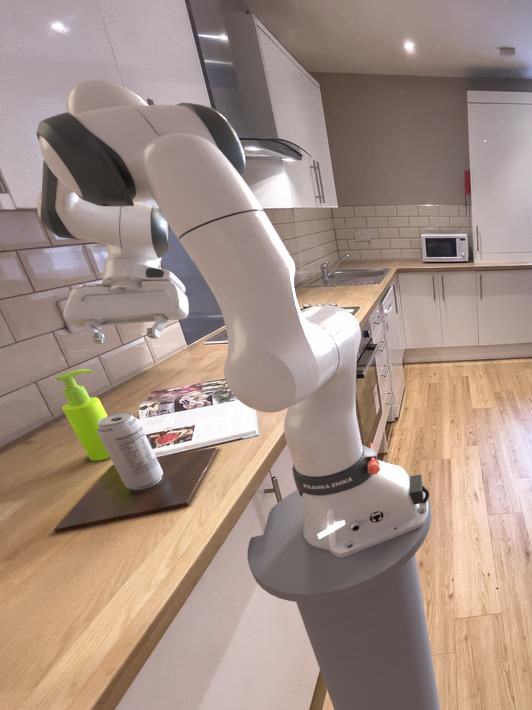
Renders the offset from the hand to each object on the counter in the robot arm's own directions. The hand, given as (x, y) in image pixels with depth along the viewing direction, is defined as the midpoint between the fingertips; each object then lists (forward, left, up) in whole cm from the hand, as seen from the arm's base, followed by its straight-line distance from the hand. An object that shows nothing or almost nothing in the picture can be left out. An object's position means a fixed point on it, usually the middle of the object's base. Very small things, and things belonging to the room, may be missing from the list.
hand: (125, 339), depth 83 cm
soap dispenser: (+15, -6, -28) cm, 32 cm away
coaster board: (+1, +12, -27) cm, 30 cm away
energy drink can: (+1, +12, -27) cm, 29 cm away
